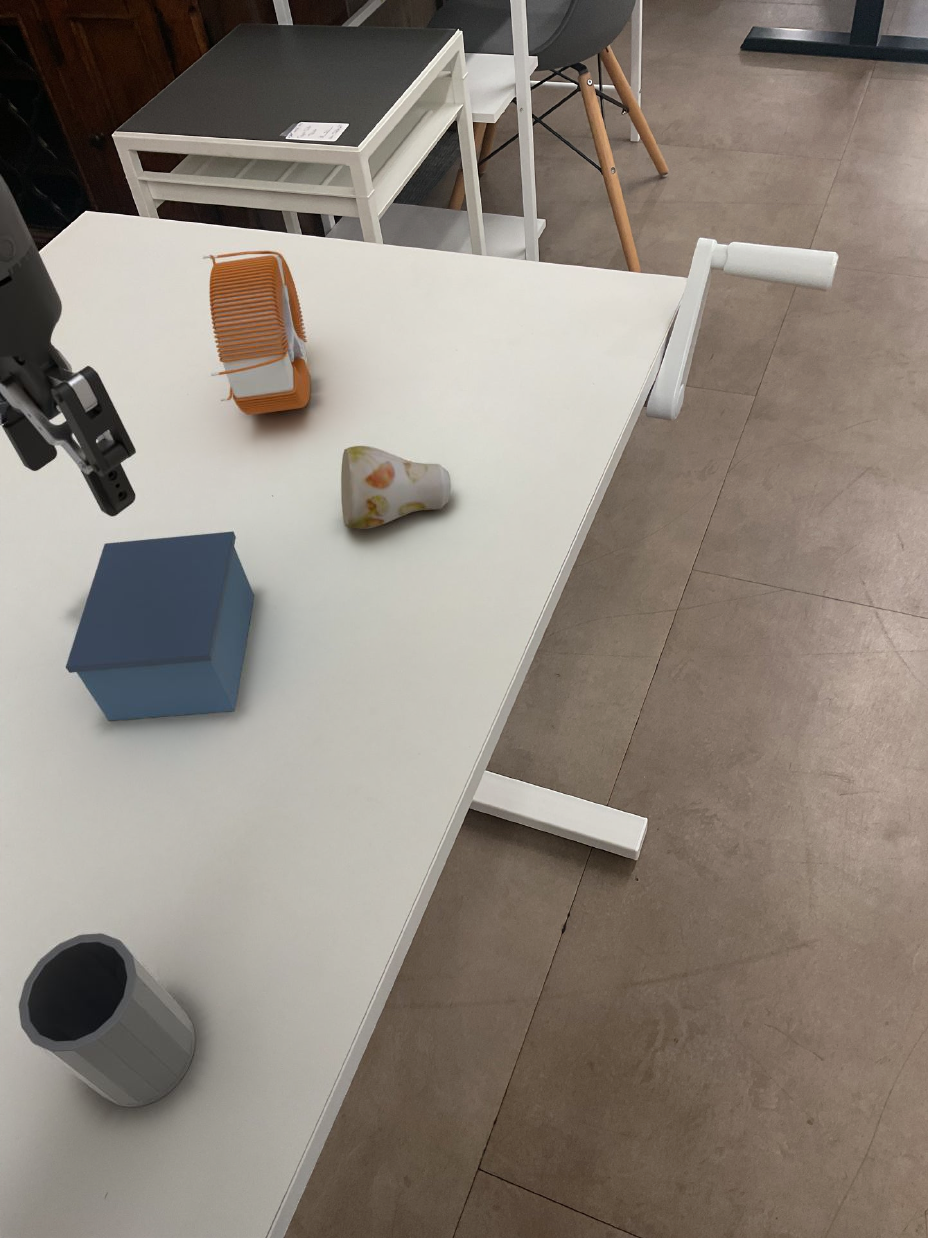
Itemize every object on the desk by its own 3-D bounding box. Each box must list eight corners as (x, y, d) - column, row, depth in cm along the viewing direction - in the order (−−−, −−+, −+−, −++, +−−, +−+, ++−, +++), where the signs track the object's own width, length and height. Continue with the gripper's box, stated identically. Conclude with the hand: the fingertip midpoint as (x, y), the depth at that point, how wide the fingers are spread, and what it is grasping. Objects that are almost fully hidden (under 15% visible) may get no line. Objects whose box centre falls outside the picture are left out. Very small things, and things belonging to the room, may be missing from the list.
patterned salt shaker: (470, 523, 88) (404, 473, 80) (380, 565, 92) (309, 521, 84) (459, 454, 91) (395, 399, 83) (372, 497, 95) (303, 448, 87)
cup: (185, 1105, 58) (121, 1047, 51) (82, 1109, 59) (4, 1053, 51) (202, 997, 62) (145, 930, 55) (106, 1003, 63) (36, 937, 55)
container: (238, 714, 77) (209, 655, 71) (103, 724, 78) (65, 667, 72) (258, 592, 85) (233, 530, 80) (137, 602, 86) (104, 543, 80)
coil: (314, 352, 107) (278, 220, 96) (309, 441, 98) (269, 306, 86) (250, 361, 108) (207, 230, 97) (239, 451, 98) (190, 317, 87)
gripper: (-169, 254, 55) (-27, 480, 67) (-29, 321, 48) (101, 560, 60) (-51, 195, 59) (64, 420, 71) (94, 249, 52) (194, 488, 64)
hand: (81, 484), depth 66 cm, fingers open, 8 cm apart
